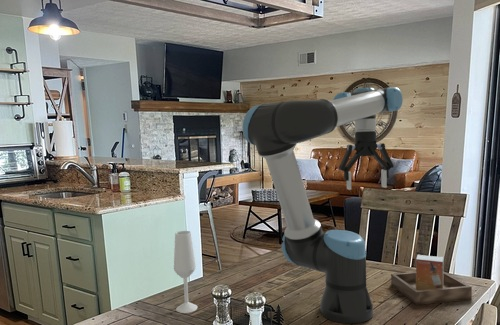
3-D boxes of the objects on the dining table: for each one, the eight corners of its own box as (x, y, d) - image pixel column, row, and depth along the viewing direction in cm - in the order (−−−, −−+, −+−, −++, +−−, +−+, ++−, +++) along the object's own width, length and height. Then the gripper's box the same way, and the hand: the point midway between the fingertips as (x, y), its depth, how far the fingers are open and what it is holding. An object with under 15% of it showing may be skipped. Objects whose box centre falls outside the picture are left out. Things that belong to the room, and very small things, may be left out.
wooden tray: (416, 305, 120) (416, 292, 120) (391, 285, 136) (391, 273, 135) (471, 299, 122) (471, 286, 122) (440, 280, 138) (440, 269, 138)
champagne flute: (182, 302, 128) (178, 229, 127) (201, 304, 126) (197, 230, 125) (172, 311, 122) (167, 235, 120) (191, 314, 120) (187, 235, 118)
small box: (415, 290, 128) (415, 258, 128) (417, 284, 133) (417, 254, 132) (443, 294, 125) (443, 261, 124) (443, 288, 129) (443, 256, 129)
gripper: (392, 129, 151) (393, 185, 152) (329, 132, 148) (330, 188, 149) (402, 129, 143) (403, 187, 145) (336, 132, 140) (337, 191, 142)
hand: (366, 188), depth 147 cm, fingers open, 13 cm apart
